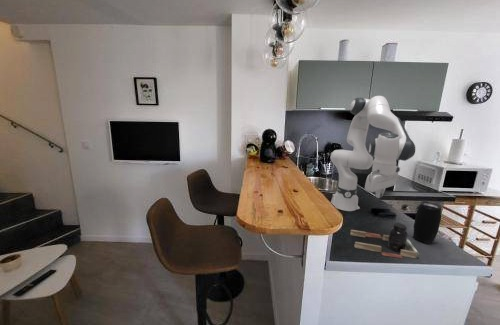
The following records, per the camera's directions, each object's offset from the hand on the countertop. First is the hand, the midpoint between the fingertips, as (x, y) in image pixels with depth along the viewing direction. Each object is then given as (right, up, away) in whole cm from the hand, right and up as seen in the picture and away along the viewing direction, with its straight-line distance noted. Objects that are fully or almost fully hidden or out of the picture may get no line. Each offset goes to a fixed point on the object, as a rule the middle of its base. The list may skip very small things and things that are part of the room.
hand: (378, 197), depth 99 cm
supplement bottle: (+9, -25, +1) cm, 26 cm away
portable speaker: (+28, -23, +8) cm, 37 cm away
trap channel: (+3, -24, +4) cm, 24 cm away
